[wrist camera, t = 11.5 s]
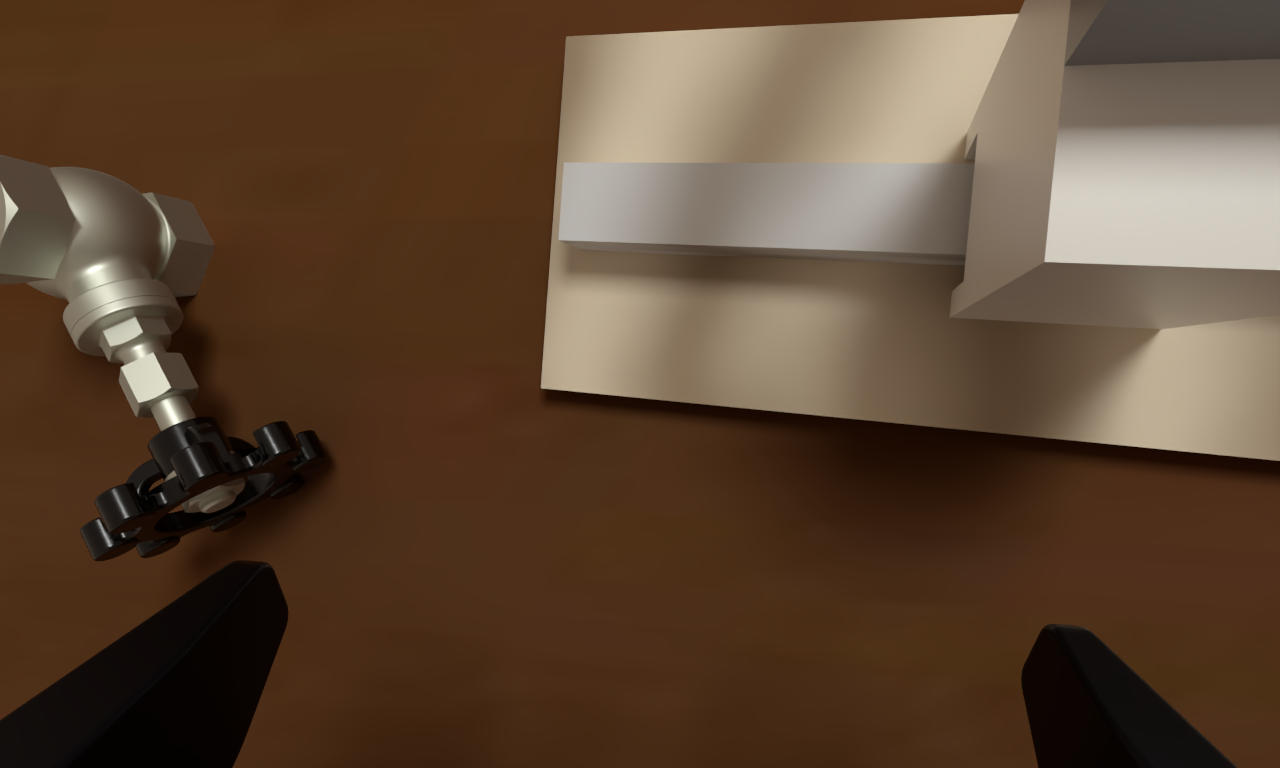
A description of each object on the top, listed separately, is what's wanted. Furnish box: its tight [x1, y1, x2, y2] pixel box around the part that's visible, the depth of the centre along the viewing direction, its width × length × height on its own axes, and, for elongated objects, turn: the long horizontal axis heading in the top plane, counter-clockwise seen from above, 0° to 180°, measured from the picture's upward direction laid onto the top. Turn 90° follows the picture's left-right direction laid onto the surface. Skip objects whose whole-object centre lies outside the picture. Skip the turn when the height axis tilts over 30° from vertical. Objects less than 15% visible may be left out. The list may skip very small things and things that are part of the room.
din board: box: [541, 14, 1280, 461], centre depth 17 cm, size 26×10×3 cm, turn 85°
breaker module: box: [949, 0, 1280, 330], centre depth 12 cm, size 4×5×12 cm
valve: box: [0, 155, 327, 561], centre depth 23 cm, size 7×7×12 cm
